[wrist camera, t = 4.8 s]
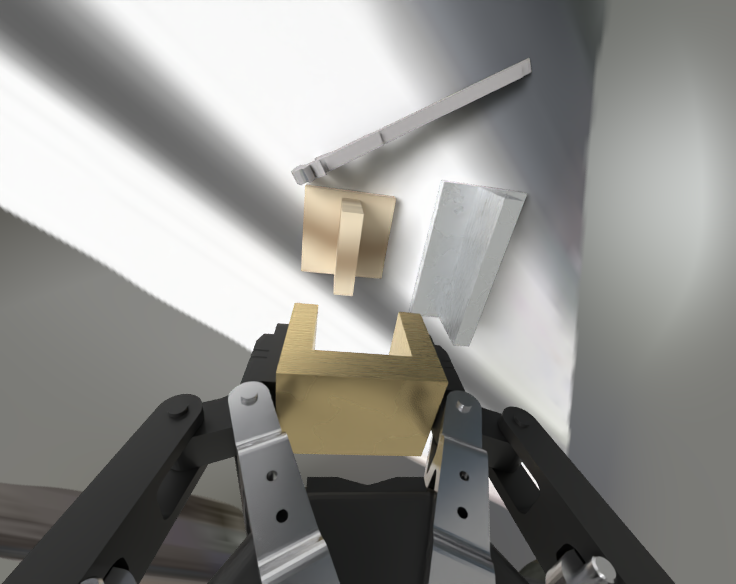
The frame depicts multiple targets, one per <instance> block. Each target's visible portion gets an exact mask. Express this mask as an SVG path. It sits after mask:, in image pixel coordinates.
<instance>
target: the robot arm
mask: <svg viewBox="0 0 736 584" xmlns="http://www.w3.org/2000/svg"><path fill="white" fill-rule="evenodd" d="M288 326H289V324H279V323H278V324H277V326H276V330H275V333H274V334H263V335H262V336H261V337H260V338H259V339H258V340H257V341H256V344H255V346H254V349H253V352H252V354H251V358H250V360H249V362H248V365H247V368H246V371H245V373H244V376H243V378H242V381H241V383H240V385H238V386H236V387H235V388H234V389H233V390H232V391H231V392H230V394H229V395H228V396H226V397H223V398H221V399H217V400H212V401H207V402H203V403H202V401H201V399H200V398H199V397H197V396H195V395H191V394H181V395H177V396H174V397H171V398H169V399H167V400H165V401H164V402H163V403H161V404H160V405H159V406H158V407H157V408H156V410H155V411H154V412H153V413H152V414H151V415H150V416H149V418H148V419H147V420H146V421H145V422H144V423H143V424H142V426H141V427H140V428H139V429H138V430H137V431H136V432H135V433H134V434H133V436H132V437H131V438H130V439H129V440H128V441H127V442H126V444H125V445H124V446H123V447H122V448H121V449H120V451H118V453H117V454H116V455H115V456H114V457H113V458H112V459H111V461H110V462H109V463H108V464H107V465H106V466H105V467H104V469H103V470H102V471H101V472H100V473H99V474H98V475H97V476H96V478H95V479H94V480H93V481H92V482H91V483H90V484H89V486H88V487H87V488H86V489H85V490H84V491H83V492H82V493H81V495H80V496H79V497H78V498H77V499H76V500H75V501H74V503H73V504H72V505H71V506H70V507H69V508H68V509H67V510H66V512H65V513H64V514H63V515H62V516H61V517H60V518H59V520H58V521H57V522H56V523H55V524H54V525H53V526H52V527H51V529H50V530H49V531H48V532H47V533H46V534H45V535H44V537H43V538H42V539H41V540H40V541H39V542H38V543H37V544H36V546H35V547H34V548H33V549H32V550H31V551H30V552H29V554H28V555H27V556H26V557H25V558H24V559H23V560H22V561H21V563H20V564H19V565H18V566H17V567H16V568H15V570H14V571H13V572H12V573H11V574H10V575H9V576H8V577H7V578H6V580H5V581H4V582H3V583H2V584H139V583H140V581H141V579H142V578H143V576H144V574H145V573H146V571H147V569H148V567H149V566H150V564H151V562H152V560H153V559H154V557H155V555H156V554H157V552H158V550H159V548H160V547H161V545H162V543H163V541H164V540H165V538H166V536H167V534H168V533H169V531H170V529H171V528H172V526H173V524H174V522H175V521H176V519H177V517H178V515H179V514H180V512H181V510H182V509H183V507H184V505H185V503H186V502H187V500H188V498H189V496H190V495H191V493H192V491H193V489H194V488H195V486H196V484H197V483H198V481H199V479H200V477H201V476H202V474H203V472H204V470H205V469H206V467H207V465H208V464H210V463H213V462H217V461H220V460H224V459H227V458H231V457H234V458H235V464H236V471H237V477H238V483H239V489H240V495H241V501H242V509H243V516H244V523H245V529H246V535H247V537H246V538H245V540H244V541H243V542H242V543H241V544H240V546H239V547H238V548H237V549H236V550H235V551H234V553H233V554H232V555H231V556H230V557H229V559H228V560H227V561H226V562H225V563H224V564H223V566H222V567H221V568H220V569H219V570H218V572H217V573H216V574H215V575H214V576H213V578H212V579H211V580H210V581H209V582H208V583H207V584H529V583H528V582H527V581H526V580H525V579H524V578H523V576H522V575H521V574H520V573H519V572H518V571H517V570H516V569H515V568H514V567H513V566H512V565H511V564H510V563H509V562H508V560H507V559H506V558H505V557H504V556H503V555H502V554H501V553H500V552H499V551H498V550H497V549H496V548H495V547H494V545H493V544H492V543H491V542H490V530H489V529H490V528H489V526H490V525H489V480H488V477H489V478H490V480H491V482H492V483H493V485H494V487H495V489H496V490H497V492H498V494H499V495H500V497H501V499H502V500H503V502H504V504H505V506H506V507H507V509H508V511H509V512H510V514H511V516H512V517H513V519H514V521H515V523H516V524H517V526H518V528H519V529H520V531H521V533H522V534H523V536H524V538H525V540H526V541H527V543H528V545H529V546H530V548H531V550H532V552H533V553H534V555H535V556H536V559H537V560H538V562H539V564H540V565H541V567H542V569H543V570H544V572H545V574H546V584H675V583H674V582H673V581H672V579H671V578H670V577H669V576H668V575H667V573H666V572H665V571H664V570H663V569H662V568H661V566H660V565H659V564H658V563H657V562H656V561H655V559H654V558H653V557H652V556H651V555H650V554H649V552H648V551H647V550H646V549H645V548H644V546H643V545H642V544H641V543H640V542H639V540H638V539H637V538H636V537H635V536H634V535H633V533H632V532H631V531H630V530H629V529H628V527H627V526H626V525H625V524H624V523H623V522H622V520H621V519H620V518H619V517H618V516H617V515H616V513H615V512H614V511H613V510H612V509H611V508H610V506H609V505H608V504H607V503H606V502H605V501H604V499H603V498H602V497H601V496H600V495H599V493H598V492H597V491H596V490H595V489H594V487H593V486H592V485H591V484H590V483H589V482H588V480H587V479H586V478H585V477H584V476H583V474H582V473H581V472H580V471H579V470H578V469H577V468H576V466H575V465H574V464H573V463H572V462H571V460H570V459H569V458H568V457H567V456H566V454H565V453H564V452H563V451H562V450H561V449H560V447H559V446H558V445H557V444H556V443H555V442H554V440H553V439H552V438H551V437H550V436H549V434H548V433H547V432H546V431H545V430H544V429H543V427H542V426H541V425H540V424H539V423H538V421H537V420H536V419H535V418H534V417H533V416H532V415H531V414H529V413H528V412H526V411H525V410H523V409H520V408H517V407H507V408H505V409H504V411H503V413H502V414H501V413H497V412H494V411H491V410H487V409H485V408H482V407H481V405H480V403H479V401H478V400H477V399H476V398H475V397H474V396H472V395H471V394H469V393H467V392H465V390H464V388H463V386H462V384H461V381H460V379H459V377H458V375H457V373H456V371H455V369H454V367H453V364H452V363H451V360H450V358H449V356H448V354H447V352H446V351H445V350H444V349H443V348H442V347H441V346H439V345H434V343H433V340H432V338H431V336H430V335H429V336H430V339H431V341H432V344H433V346H434V349H435V351H436V354H437V356H438V358H439V361H440V363H441V366H442V368H443V371H444V373H445V376H446V378H447V381H448V385H447V388H446V390H445V393H444V396H443V398H442V401H441V404H440V406H439V409H438V412H437V414H436V417H435V420H434V423H433V425H432V428H431V431H432V434H433V435H432V438H431V440H430V446H429V452H428V457H427V463H426V469H425V475H424V477H395V478H392V479H388V480H385V481H381V482H379V483H375V484H371V485H364V484H360V483H357V482H353V481H349V480H346V479H342V478H339V477H308V478H307V487H304V484H303V481H302V478H301V475H300V472H299V469H298V466H297V463H296V460H295V457H294V454H293V451H292V448H291V445H290V442H289V439H288V436H287V434H286V432H285V431H284V432H282V430H281V427H280V424H279V421H278V417H277V414H276V371H277V367H278V364H279V360H280V356H281V352H282V349H283V345H284V341H285V337H286V334H287V330H288ZM521 462H523V463H524V465H525V466H526V467H527V469H528V470H529V472H530V473H531V474H532V476H533V477H534V479H535V480H536V482H537V484H538V486H539V489H540V491H539V489H538V488H537V486H536V485H535V484H534V482H533V481H532V479H531V478H530V476H529V475H528V474H527V472H526V471H525V469H524V468H523V466H522V465H521Z"/></svg>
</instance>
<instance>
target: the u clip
mask: <svg viewBox="0 0 736 584" xmlns="http://www.w3.org/2000/svg"><path fill="white" fill-rule="evenodd" d="M317 314H318V305H314V304H302V303H295V304H294V308H293V311H292V315H291V319H290V323H289V326H288V330H287V334H286V337H285V341H284V345H283V349H282V352H281V356H280V360H279V364H278V367H277V371H276V414H277V417H278V421H279V424H280V427H281V430H282V432H284V431H285V432H286V434H287V436H288V439H289V442H290V445H291V448H292V451H293V453H297V454H342V455H343V454H344V455H345V454H346V455H390V456H421V455H422V452H423V449H424V447H425V444H426V441H427V439H428V436H429V433H430V431H431V428H432V425H433V423H434V420H435V417H436V414H437V412H438V409H439V406H440V404H441V401H442V398H443V396H444V393H445V390H446V388H447V385H448V381H447V378H446V376H445V373H444V371H443V368H442V366H441V363H440V361H439V358H438V356H437V354H436V351H435V349H434V346H433V344H432V341H431V339H430V336H429V334H428V331H427V329H426V327H425V324H424V322H423V319H422V317H421V314H418V313H406V312H399V314H398V318H397V322H396V326H395V331H394V335H393V339H392V344H391V348H390V352H389V355H381V354H366V353H351V352H336V351H321V350H315V339H316V327H317Z"/></svg>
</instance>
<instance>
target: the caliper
mask: <svg viewBox="0 0 736 584" xmlns="http://www.w3.org/2000/svg"><path fill="white" fill-rule="evenodd" d="M530 72H531V64H530V58H528V59H526V60H524V61H521V62H519V63H517V64H515V65H513V66H511V67H509V68H506V69H504V70H502V71H500V72H498V73H496V74H494V75H492V76H489V77H487V78H485V79H483V80H481V81H479V82H477V83H475V84H473V85H471V86H469V87H467V88H465V89H462V90H460V91H458V92H456V93H454V94H452V95H450V96H448V97H446V98H444V99H442V100H440V101H438V102H435V103H433V104H431V105H429V106H427V107H425V108H423V109H421V110H419V111H417V112H415V113H413V114H411V115H408V116H406V117H404V118H402V119H400V120H398V121H396V122H394V123H392V124H390V125H388V126H386V127H383V128H381V129H379V130H377V131H375V132H373V133H370V134H368V135H365V136H363V137H361V138H359V139H357V140H355V141H353V142H351V143H349V144H347V145H345V146H343V147H341V148H339V149H337V150H335V151H333V152H330V153H327V154H324V155H321V156H319V157H317V158H315V161H313V162H311V163H309V164H307V165H300V166H298V167H296V168H295V169H293V170H292V171H291V173H292V175H293V177H294V179H295V180H296V182H297V184H299V185H302V184H304V183H306V182H309V183H310V182H312V181H313V180H314V179H315V178H316V177H321V176H324V175H327V174H326V172H328V171H331V170H334V169H336V168H338V167H340V166H342V165H344V164H346V163H348V162H350V161H352V160H354V159H356V158H358V157H360V156H362V155H364V154H366V153H369V152H371V151H373V150H375V149H377V148H379V147H381V146H383V145H384V144H386V143H388V142H390V141H392V140H394V139H396V138H398V137H400V136H402V135H404V134H406V133H408V132H411V131H413V130H415V129H417V128H419V127H421V126H423V125H425V124H427V123H429V122H431V121H433V120H435V119H437V118H439V117H442V116H444V115H446V114H448V113H450V112H452V111H454V110H456V109H458V108H460V107H462V106H464V105H466V104H468V103H470V102H473V101H475V100H477V99H479V98H481V97H483V96H485V95H487V94H489V93H491V92H493V91H495V90H497V89H499V88H501V87H503V86H506V85H508V84H510V83H512V82H514V81H516V80H518V79H520V78H522V77H523V76H525V75H527V74H529V73H530Z"/></svg>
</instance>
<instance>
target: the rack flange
mask: <svg viewBox="0 0 736 584" xmlns="http://www.w3.org/2000/svg"><path fill="white" fill-rule="evenodd" d="M526 196H527V194H526V193H523V192H520V191H513V190H506V189H499V188H493V187H486V186H479V185H472V184H465V183H459V182H452V181H445V180H441V182H440V187H439V191H438V195H437V199H436V203H435V207H434V211H433V215H432V219H431V223H430V227H429V231H428V235H427V239H426V243H425V247H424V251H423V256H422V260H421V264H420V268H419V272H418V276H417V280H416V284H415V288H414V292H413V296H412V300H411V304H410V308H409V311H410V313H418V314H421V316H433V317H439V318H440V320H441V322H442V324H443V326H444V328H445V330H446V332H447V334H448V336H449V338H450V340H451V342H452V343H453V345H454V346H469V345H470V343H471V340H472V337H473V335H474V332H475V330H476V327H477V324H478V322H479V319H480V316H481V314H482V311H483V309H484V306H485V303H486V301H487V298H488V295H489V293H490V290H491V288H492V285H493V282H494V280H495V277H496V274H497V272H498V269H499V267H500V264H501V261H502V259H503V256H504V254H505V251H506V248H507V246H508V243H509V240H510V238H511V235H512V233H513V230H514V227H515V225H516V222H517V219H518V217H519V214H520V212H521V209H522V206H523V204H524V201H525V198H526Z"/></svg>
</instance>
